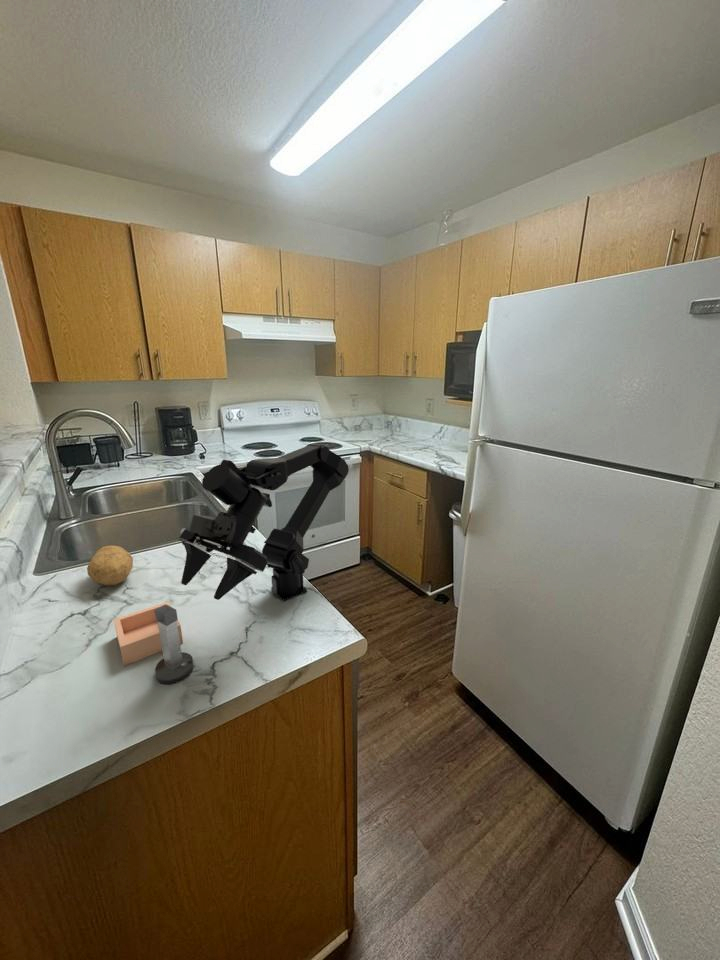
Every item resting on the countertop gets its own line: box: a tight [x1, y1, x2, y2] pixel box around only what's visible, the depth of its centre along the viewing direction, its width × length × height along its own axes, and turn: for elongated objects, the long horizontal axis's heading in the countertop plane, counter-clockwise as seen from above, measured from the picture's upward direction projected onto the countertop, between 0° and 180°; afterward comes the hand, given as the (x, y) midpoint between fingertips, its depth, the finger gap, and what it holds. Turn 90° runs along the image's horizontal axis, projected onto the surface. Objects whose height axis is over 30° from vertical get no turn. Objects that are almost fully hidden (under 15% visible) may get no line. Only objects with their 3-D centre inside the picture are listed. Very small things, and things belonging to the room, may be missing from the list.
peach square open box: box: [113, 601, 184, 667], centre depth 75 cm, size 10×10×4 cm
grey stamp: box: [154, 604, 195, 686], centre depth 66 cm, size 6×6×12 cm
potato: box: [86, 545, 134, 586], centre depth 96 cm, size 10×14×8 cm
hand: (199, 591), depth 70 cm, fingers open, 9 cm apart
